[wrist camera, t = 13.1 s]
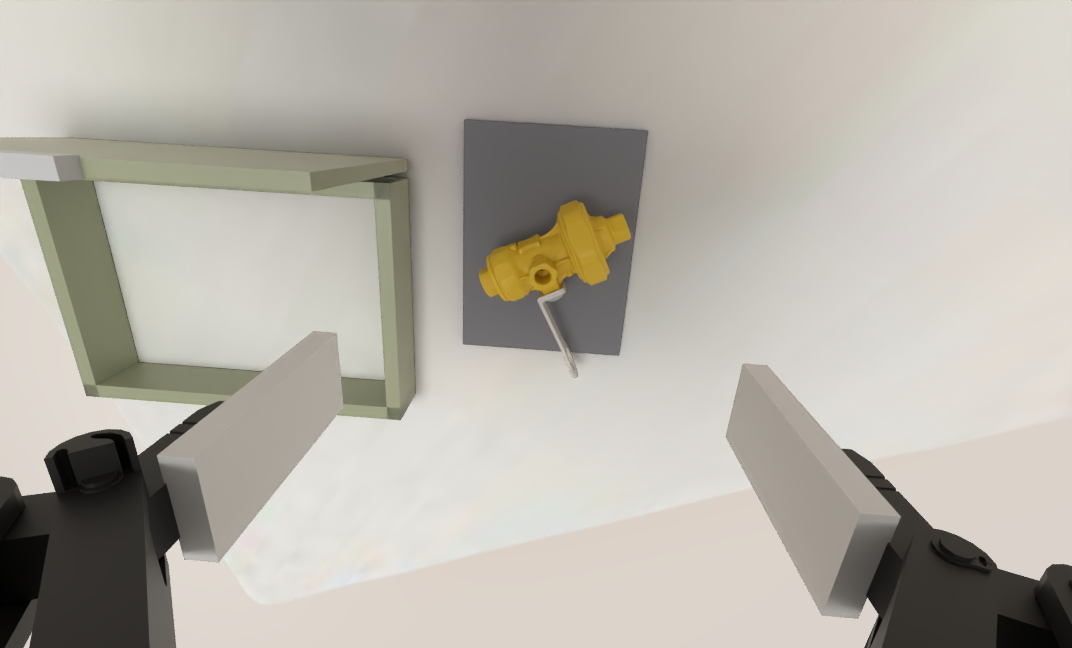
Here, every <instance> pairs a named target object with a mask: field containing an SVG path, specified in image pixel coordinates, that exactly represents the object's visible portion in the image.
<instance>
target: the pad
mask: <svg viewBox="0 0 1072 648" xmlns="http://www.w3.org/2000/svg"><path fill="white" fill-rule="evenodd" d="M647 136H648V131H645V130H628V129H612V128H595V127H579V126H562V125H546V124H529V123H513V122H496V121H480V120H464V223H463V344H466V345H480V346H493V347H507V348H521V349H535V350H549V351H561V349H560V347H559V345H558V343H557V341H556V339H555V336H554V334H553V332H552V330H551V328H550V326H549V324H548V322H547V320H546V318H545V316H544V314H543V312H542V310H541V308H540V305H539V303H538V301H537V300H538V293H537V290H533V291H530V293H529V295H526V296H525V297H524V298H522V299H519V300H517V301H514V302H513V301H504V300H503V299H502V298H501V297H500V296H499V294H498V295H495V296H493V297H490V296H488V295H487V294H486V292H485V291H484V289H483V287H482V284H481V282H480V278H479V271H480V270H481V269H483V268H485V267H487V264H486V257H487V256H488V255H490V254H491V252H492V251H493V250H494V249H497V248H499V247H501V246H507V245H510V244H513V243H516V245H517V246H518V242H520V241H523V240H526V239H529V238H531V237H533V236H534V235H536V234H539V236H543V235H545V234H547V233H548V232H549V231H550V230H551V229H552V228H553V227H554V226H555V224H556V222H557V213H558V212H559V210H560V206H562V205H564V204H567V203H569V202H571V201H574V200H577V201H578V202H579V203H580V202H582V203H583V204H584V206H585V208H586V211H587V214H589V215H590V216H594V217H598V216H603V217H604V218H605V219H607V218H609V217H612V216H614V215H617V214H619V213H622V214H623V216H624V218H625V220H626V223H627V225H628V228H629V231H630V234H631V238H630V239H629V240H626V241H624V242H621V243H619V244H617V245H616V246H615V251H613V252H611V254H610V255H609V256H608V257H607V258H606V259H605V260H606V263H607V265H608V268H609V270H610V273H609V274H608V275H607V280H605V281H602V282H600V283H597V284H595V285H592V286H591V285H590V284H588V283H585V282H583V280H582V279H580V278H579V276H578V274H577V273H574V274H573V275H572V276H571V277H567V276H566V277H565V278H564V279H563V281H564V283H565V287H566V293H564V294H563V296H562V297H561V298H560V299H558V300H556V301H553V302H549V301H545V302H546V304H547V306H548V308H549V310H550V312H551V314H552V316H553V318H554V320H555V323H556V325H557V327H558V329H559V331H560V333H561V335H562V337H563V339H564V341H565V342H566V343H567V345H568V347H569V349H570V351H571V352H576V353H590V354H604V355H617V356H619V353H620V345H621V337H622V330H623V322H624V314H625V306H626V299H627V291H628V283H629V275H630V268H631V260H632V252H633V244H634V237H635V229H636V221H637V213H638V206H639V198H640V190H641V182H642V175H643V167H644V159H645V151H646V144H647Z"/></svg>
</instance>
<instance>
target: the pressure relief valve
mask: <svg viewBox="0 0 1072 648" xmlns="http://www.w3.org/2000/svg"><path fill="white" fill-rule="evenodd" d="M630 238H631V234H630V231H629V228H628V225H627V223H626V220H625V218H624V216H623V214H622V213H619V214H617V215H614V216H612V217H609V218H607V219H605V218H604V217H603V216H598V217H594V216H590V215H589V214H587V211H586V208H585V206H584V204H583V203H582V202H580V203H579V202H578V201H577V200H574V201H571V202H569V203H567V204H564V205H562V206H560V210H559V212H558V213H557V222H556V224H555V226H554V227H553V228H552V229H551V230H550V231H549V232H548V233H547V234H545V235H543V236H539V234H536V235H534V236H533V237H531V238H529V239H526V240H523V241H520V242H518V246H517V245H516V243H513V244H510V245H507V246H501V247H499V248H497V249H494V250H493V251H492V252H491V254H490V255H488V256H487V257H486V264H487V267H485V268H483V269H481V270H480V271H479V278H480V282H481V284H482V287H483V289H484V291H485V292H486V294H487V295H488V296H490V297H493V296H495V295H498V294H499V296H500V297H501V298H502V299H503V300H504V301H513V302H514V301H517V300H519V299H522V298H524V297H525V296H526V295H529V293H530V291H533V290H537V293H538V300H537V301H538V303H539V305H540V308H541V310H542V312H543V314H544V316H545V318H546V320H547V322H548V324H549V326H550V328H551V330H552V332H553V334H554V336H555V339H556V341H557V343H558V345H559V347H560V349H561V351H562V353H563V356H564V359H565V361H566V364H567V366H568V369H569V371H570V373H571V375H572V376H573V377H574V378H577V377H578V373H577V368H576V365H575V362H574V359H573V356H572V354H571V351H570V349H569V347H568V345H567V343H566V342H565V341H564V339H563V337H562V335H561V333H560V331H559V329H558V327H557V325H556V323H555V320H554V318H553V316H552V314H551V312H550V310H549V308H548V306H547V304H546V302H545V301H549V302H553V301H556V300H558V299H560V298H561V297H562V296H563V294H564V293H566V287H565V283H564V281H563V279H564V278H565V277H566V276H567V277H571V276H572V275H573V274H574V273H577V274H578V276H579V278H580V279H582V280H583V282H585V283H588V284H590V285H591V286H592V285H595V284H597V283H600V282H602V281H605V280H607V275H608V274H609V273H610V270H609V268H608V265H607V263H606V260H605V259H606V258H607V257H608V256H609V255H610V254H611V252H613V251H615V246H616V245H617V244H619V243H621V242H624V241H626V240H629V239H630ZM567 354H568V355H567ZM568 357H569V358H568ZM569 359H570V360H569ZM570 362H571V363H570Z"/></svg>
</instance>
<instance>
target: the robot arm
mask: <svg viewBox="0 0 1072 648" xmlns="http://www.w3.org/2000/svg"><path fill="white" fill-rule="evenodd" d="M343 407H344V406H343V395H342V385H341V374H340V364H339V353H338V342H337V333H330V332H317V331H313V332H312V333H311V334H309V335H308V336H307V337H305V338H304V339H303V340H302V341H300V342H299V343H298V344H297V345H295V346H294V347H293V348H292V349H290V350H289V351H288V352H287V353H285V354H284V355H283V356H281V357H280V358H279V359H278V360H276V361H275V362H274V363H273V364H271V365H270V366H269V367H268V368H266V369H265V370H264V371H263V372H261V373H260V374H259V375H258V376H256V377H255V378H254V379H252V380H251V381H250V382H249V383H247V384H246V385H245V386H244V387H242V388H241V389H240V390H239V391H237V392H236V393H235V394H234V395H232V396H231V397H230V398H228V399H227V400H226V401H217V402H215V403H213V404H210V405H208V406H206V407H204V408H202V409H199V410H198V411H196V412H195V413H194V414H192V415H191V416H190V417H188V418H187V419H186V420H184V421H183V423H182V424H179V425H178V426H176V427H175V428H174V429H172V430H171V431H170V434H166V435H165V436H163V437H162V438H161V439H159V440H158V441H157V442H155V443H154V444H153V445H151V446H150V447H149V448H147V449H146V450H145V451H143V452H142V453H141V454H140V455H137V451H136V448H135V444H134V441H133V437H132V436H131V434H130V433H129V432H126V431H123V430H111V429H107V430H101V431H95V432H90V433H87V434H84V435H80V436H77V437H74V438H72V439H70V440H68V441H65V442H63V443H61V444H59V445H58V446H56V447H55V448H54V449H52V450H51V451H49V453H48V454H47V456H46V458H45V459H44V461H45V464H46V467H47V469H48V472H49V475H50V477H51V480H52V483H53V485H54V488H55V491H56V492H52V493H43V494H36V495H27V496H21V493H20V491H19V488H18V486H17V484H16V482H15V481H14V480H13V479H12V478H7V477H0V648H23V647H24V645H25V643H26V642H27V640H28V638H29V636H30V634H31V632H32V636H31V641H30V647H29V648H176V642H175V632H174V631H175V630H174V620H173V609H172V598H171V587H170V576H169V566H168V561H167V558H166V554H165V553H166V552H167V551H168V549H170V548H171V547H172V545H173V544H174V543H175V542H176V541H177V540H178V539H179V541H180V545H181V549H182V552H183V556H184V559H185V560H195V561H208V562H219V561H220V560H221V559H222V557H223V556H224V555H225V554H226V552H227V551H228V550H229V549H230V547H231V546H232V545H233V544H234V542H235V541H236V540H237V539H238V537H239V536H240V535H241V534H242V533H243V531H244V530H245V529H246V528H247V526H248V525H249V524H250V523H251V521H252V520H253V519H254V518H255V516H256V515H257V514H258V513H259V511H260V510H261V509H262V508H263V506H264V505H265V504H266V503H267V501H268V500H269V499H270V498H271V496H272V495H273V494H274V493H275V491H276V490H277V489H278V488H279V486H280V485H281V484H282V483H283V481H284V480H285V479H286V478H287V476H288V475H289V474H290V473H291V471H292V470H293V469H294V468H295V466H296V465H297V464H298V463H299V461H300V460H301V459H302V458H303V457H304V455H305V454H306V453H307V452H308V450H309V449H310V448H311V447H312V445H313V444H314V443H315V442H316V440H317V439H318V438H319V437H320V435H321V434H322V433H323V432H324V430H325V429H326V428H327V427H328V425H329V424H330V423H331V422H332V420H333V419H334V418H335V417H336V415H337V414H338V413H339V412H340V410H341V409H342V408H343ZM726 438H727V440H728V442H729V444H730V446H731V448H732V450H733V451H734V453H735V455H736V457H737V459H738V461H739V463H740V464H741V466H742V468H743V470H744V472H745V474H746V476H747V477H748V479H749V481H750V483H751V485H752V487H753V489H754V490H755V492H756V494H757V496H758V498H759V500H760V501H761V503H762V505H763V507H764V509H765V511H766V513H767V515H768V516H769V518H770V520H771V522H772V524H773V526H774V527H775V529H776V531H777V533H778V535H779V537H780V539H781V540H782V542H783V544H784V546H785V547H786V550H787V552H788V553H789V555H790V557H791V559H792V561H793V563H794V565H795V566H796V568H797V570H798V572H799V574H800V576H801V578H802V579H803V581H804V583H805V585H806V587H807V589H808V591H809V592H810V594H811V596H812V598H813V600H814V602H815V603H816V605H817V607H818V609H819V611H820V613H821V615H823V616H833V617H845V618H857V619H858V618H859V616H860V613H861V611H862V609H863V606H864V604H865V601H866V599H867V597H868V598H869V600H870V602H871V603H872V605H873V607H874V608H875V610H876V611H877V613H878V614H879V615H878V618H877V620H876V622H875V624H874V627H873V629H872V631H871V634H870V636H869V638H868V640H867V643H866V645H865V647H864V648H1072V566H1069V565H1065V564H1056V565H1055V564H1053V565H1051V566H1050V567H1048V568H1047V569H1046V571H1045V572H1044V574H1043V576H1042V577H1041V579H1040V581H1038V580H1034V579H1031V578H1028V577H1024V576H1020V575H1017V574H1014V573H1010V572H1007V571H1003V570H1000V569H998V568H997V565H996V564H995V563H994V562H993V560H992V559H991V558H990V557H989V556H988V555H987V554H986V553H985V552H983V551H982V550H981V549H979V548H978V547H977V546H975V545H974V544H973V543H971V542H969V541H967V540H965V539H963V538H961V537H959V536H957V535H955V534H952V533H949V532H946V531H943V530H938V529H933V528H932V527H931V525H929V523H928V522H927V521H926V520H925V519H924V518H923V517H922V516H921V515H920V514H919V513H918V512H917V511H916V510H915V508H914V507H913V506H912V505H911V504H910V503H909V502H908V501H907V500H906V499H905V498H904V497H903V496H902V495H901V494H900V493H899V492H897V491H896V488H895V487H894V486H893V485H892V484H891V483H890V482H889V481H888V480H886V479H885V477H884V475H883V474H882V473H881V472H880V471H879V470H878V469H877V468H876V467H875V466H874V465H873V464H872V463H871V462H870V461H868V460H867V459H865V458H864V457H862V456H861V455H859V454H858V453H856V452H855V451H853V450H851V449H841V448H840V447H839V446H838V445H837V444H836V443H835V442H834V440H833V439H832V438H831V437H830V436H829V435H828V434H827V433H826V431H825V430H824V429H823V428H822V427H821V426H820V425H819V423H818V422H817V421H816V420H815V419H814V418H813V417H812V416H811V414H810V413H809V412H808V411H807V410H806V409H805V408H804V406H803V405H802V404H801V403H800V402H799V401H798V400H797V399H796V397H795V396H794V395H793V394H792V393H791V392H790V391H789V390H788V388H787V387H786V386H785V385H784V384H783V383H782V382H781V380H780V379H779V378H778V377H777V376H776V375H775V374H774V373H773V371H772V370H771V369H770V368H769V367H768V366H767V365H755V364H743V365H742V370H741V374H740V378H739V382H738V387H737V391H736V395H735V399H734V404H733V408H732V412H731V416H730V420H729V425H728V429H727V433H726Z"/></svg>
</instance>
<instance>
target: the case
mask: <svg viewBox="0 0 1072 648" xmlns="http://www.w3.org/2000/svg"><path fill="white" fill-rule="evenodd" d="M406 171H408V159H402V158H386V157H370V156H354V155H338V154H322V153H306V152H290V151H274V150H258V149H242V148H227V147H211V146H195V145H179V144H163V143H147V142H131V141H115V140H99V139H83V138H0V178H14V179H20V180H21V183H22V187H23V190H24V193H25V196H26V200H27V203H28V206H29V210H30V213H31V216H32V219H33V223H34V226H35V229H36V232H37V236H38V239H39V242H40V246H41V249H42V252H43V255H44V259H45V262H46V265H47V268H48V272H49V275H50V278H51V282H52V285H53V288H54V291H55V295H56V298H57V301H58V304H59V308H60V311H61V314H62V317H63V321H64V324H65V327H66V331H67V334H68V337H69V340H70V344H71V347H72V350H73V353H74V357H75V360H76V363H77V367H78V370H79V373H80V376H81V380H82V383H83V386H84V389H85V393H86V396H94V397H107V398H120V399H133V400H146V401H159V402H172V403H185V404H198V405H210V404H213V403H215V402H217V401H226V400H227V399H228V398H230V397H231V396H232V395H234V394H235V393H236V392H237V391H239V390H240V389H241V388H242V387H244V386H245V385H246V384H247V383H249V382H250V381H251V380H252V379H254V378H255V377H256V376H258V375H259V374H260V373H261V371H248V370H234V369H221V368H208V367H194V366H181V365H168V364H154V363H141V362H139V361H138V357H137V353H136V349H135V345H134V341H133V337H132V333H131V330H130V326H129V322H128V318H127V314H126V310H125V306H124V302H123V298H122V294H121V290H120V286H119V283H118V279H117V275H116V271H115V267H114V263H113V259H112V255H111V251H110V247H109V243H108V239H107V236H106V232H105V228H104V224H103V220H102V216H101V212H100V208H99V204H98V200H97V196H96V193H95V189H94V185H93V181H106V182H121V183H136V184H152V185H167V186H182V187H198V188H213V189H229V190H244V191H259V192H275V193H290V194H305V195H321V196H336V197H351V198H367V199H374V202H375V218H376V235H377V252H378V269H379V286H380V303H381V320H382V337H383V354H384V371H385V381H381V380H368V379H355V378H341V385H342V395H343V406H344V407H343V408H342V409H341V410H340V412H339V413H338V414H337V415H341V416H354V417H367V418H380V419H393V420H401V419H402V417H403V415H404V413H405V412H406V410H407V408H408V406H409V405H410V403H411V401H412V399H413V398H414V396H415V394H416V390H415V361H414V332H413V303H412V274H411V245H410V216H409V187H408V178H392V177H383V176H387V175H392V174H396V173H401V172H406Z"/></svg>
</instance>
